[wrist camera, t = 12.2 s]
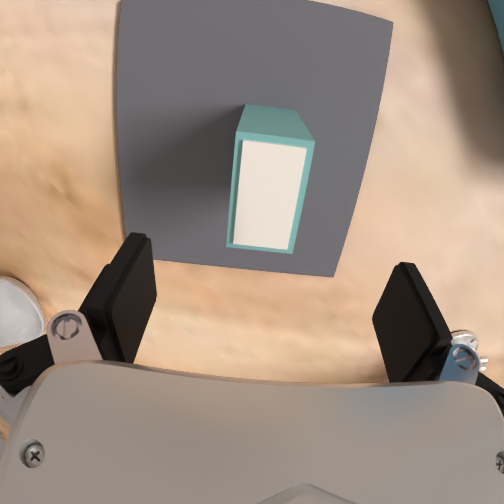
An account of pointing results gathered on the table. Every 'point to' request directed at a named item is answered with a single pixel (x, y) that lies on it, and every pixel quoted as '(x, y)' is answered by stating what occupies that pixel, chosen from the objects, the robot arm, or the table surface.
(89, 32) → the table surface
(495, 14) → the casserole dish
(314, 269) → the mat
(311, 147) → the teal rectangular block
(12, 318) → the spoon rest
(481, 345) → the table surface
